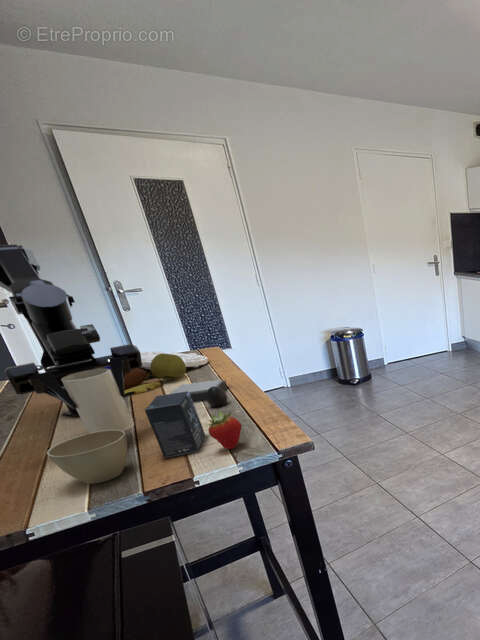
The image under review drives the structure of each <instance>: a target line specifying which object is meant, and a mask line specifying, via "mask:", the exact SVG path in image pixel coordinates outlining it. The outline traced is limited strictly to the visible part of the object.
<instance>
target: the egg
mask: <svg viewBox="0 0 480 640" xmlns="http://www.w3.org/2000/svg"><path fill="white" fill-rule="evenodd" d="M206 399H207V400H206V401H207V403H208V405H209V406H211V408H221V407H224V406H225V405H227V402H228V396H227V394H226V392H225V390H224V391H223V390H222V389H220V388H218V387H215V386H213V387H210V388H209V389H208V391H207V394H206Z"/></svg>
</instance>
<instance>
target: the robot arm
mask: <svg viewBox="0 0 480 640" xmlns="http://www.w3.org/2000/svg"><path fill="white" fill-rule="evenodd" d="M39 271H41V265H40V263H39V261H38V259H37V258H36V255H35V254H34V252H33V250H30V249H27V248H24V246H22V244H20V245H18V244H14V243H13V244H0V287H1V288H2V289H3V290H6V291H7V292H8V293H11V295H12V296H8V299H9V302H10V303H11V305H12V307H13V309H14V311H15V313H16V314H17V316H19V315H22V316H23V317H24V318H25V320H26V322H27V324H28V326H29V327H30V329H31V331H32V333H33V334H34V336H35V338H36V340H37V342H38V343H39V345H40V347H41V350H42V351H43V352H42V355H41V358H40V365H41V366H40V367H36V363H35V362H30V363H24V364H19V365H14V366H8V367H6V368H5V370H4V374H5V376H6V378H8V379H9V380H8V379H7V380H8V381H9V384H10V385H11V387H12V389H13V390H14V392H15V394H16V395H25V394H31V393H34V392H35V393H36V394H38V395H39V394H45V395H48V396H50V397H53V398H55V399H57V400H58V401H59V402H61V403H63V404H65V406H66V408H67V410H65V411H63V412H62V413H61V414H62V415H64V416H71V417H78V418H80V416H79V414H78V412H77V410H76V406H75V404H74V403H73V401H72V399H71V398H70V396H69V394H68V392H67V390H66V388H65V386H64V384H63V382H62V380H61V379H62V378H63V377H65V376H68V375H70V374H74V373H77V372H82V371H87V370H93V369H98V368H102V367H107V366H110V367H111V371H112V375H113V377H114V379H115V381H116V384H117V386H118V388H119V390H120V393H121V395H122V396H125V391H124V379H125V374H128V373H130V372H131V370H132V369H136V368H140V367H141V366H142V361H141V354H140V353H141V351H140V350H139V348H138V347H137V345H134V344H132V343H129V344H123V345H118V346H113V347H110V355H105V356H99V357H95V354H96V352H95V350H94V348H93V346H92V344H93V343H98V342H101V337H100V334H99V333H98V331H97V329H96V328H95V326H94V324H93V323H91V324H85V325H80V327H79V328H78V327H77V325H76V324H75V322H74V320H73V317H74V315H73V311H72V309H71V308H72V307H73V304H74V303H76V301H75V300H74V297H73V296H71V295H69V294H68V293H67V292H66V291H65V290H64V289H62V288H61V287H59V286H57V285H55V284H54V282H52V281H50V280H46V279H42V278H41V277H40V275H39ZM125 397H126V396H125Z"/></svg>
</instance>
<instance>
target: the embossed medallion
mask: <svg viewBox="0 0 480 640" xmlns="http://www.w3.org/2000/svg"><path fill="white" fill-rule="evenodd" d="M140 354H141V361H142V366H141V367H140V368H143V367H144V370H145V369H150V365H151V362H152V360H153V359H154V357H155V356H157V355H159V354H172V355H177V356H179V357H181V358H182V360H183V361H184V363H185V366H186V368H200V367H199V366H202V365H206V364H207V363H208V361H209V360H208V357H207V356H206V355H199V354H197V353H196V352H190V353H182V352H173V351H172V352H164V351H150V352H149V351H142V352H141V351H140Z"/></svg>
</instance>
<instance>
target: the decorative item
mask: <svg viewBox="0 0 480 640" xmlns="http://www.w3.org/2000/svg"><path fill="white" fill-rule="evenodd" d="M161 384H162V383H161V382H160V381H155V382H154V381H153V382H148V383H144V384H143V383H142V384H140V385H138V386H136V387H133V388H130V389H127V390H124V391H125V396H122V397H123V398H125V397H127V396H131V395H137V394H140V393H145V392H148V391H151V390H155V389H157V388H159V387H161V386H162V385H161Z"/></svg>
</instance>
